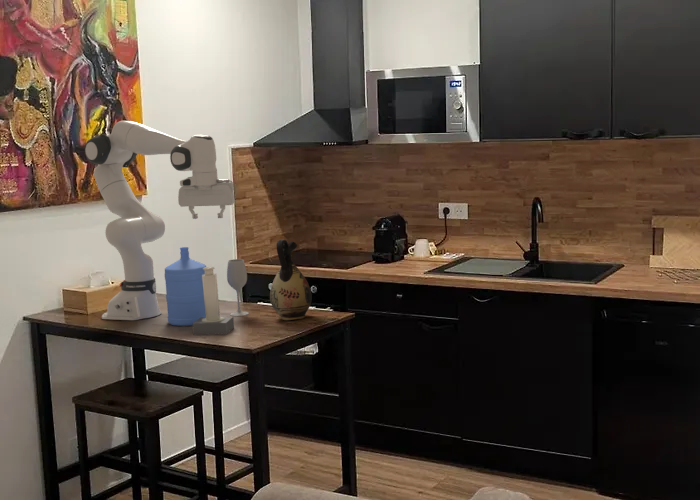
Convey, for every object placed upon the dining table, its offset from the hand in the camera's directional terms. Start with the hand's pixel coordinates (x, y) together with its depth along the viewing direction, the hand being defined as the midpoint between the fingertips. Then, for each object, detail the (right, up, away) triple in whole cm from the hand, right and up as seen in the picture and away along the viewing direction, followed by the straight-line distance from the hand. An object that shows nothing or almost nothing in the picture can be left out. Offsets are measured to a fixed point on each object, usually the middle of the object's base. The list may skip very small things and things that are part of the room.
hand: (207, 218), depth 321 cm
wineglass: (+9, -36, +21) cm, 43 cm away
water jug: (-9, -39, +11) cm, 41 cm away
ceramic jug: (+29, -37, +10) cm, 48 cm away
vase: (+3, -36, -6) cm, 37 cm away
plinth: (+3, -40, -6) cm, 41 cm away
